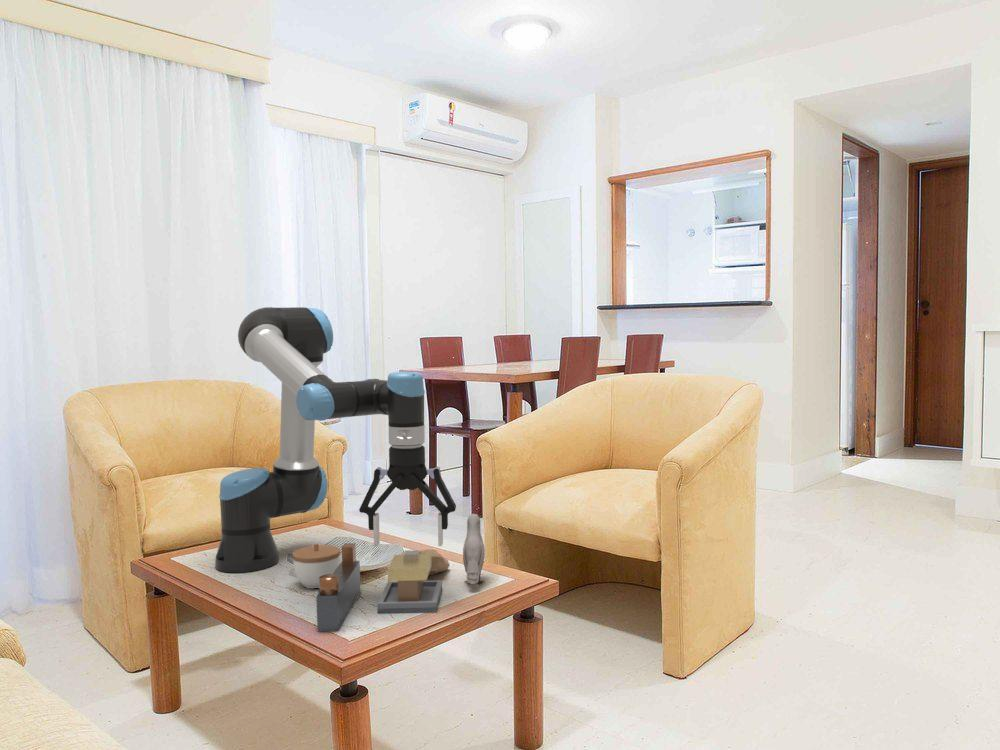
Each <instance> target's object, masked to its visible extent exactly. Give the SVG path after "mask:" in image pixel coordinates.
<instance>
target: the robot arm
mask: <svg viewBox="0 0 1000 750" xmlns="http://www.w3.org/2000/svg"><path fill="white" fill-rule="evenodd" d="M237 338H238V339H237V340H238V343H239V346H240V349H241V350H242V351H243V353H244V354H245V355H246V356H247V357H248V358H249V359H251V360H252V361H254V362H258V363H261V364H262V365H263V366H265V368H266V369H267V370H268V371H270V373H272V374H273V375H274V376H275V377H276V378H277V379H278V381H280V382H281V394H280V395H281V400H280V433H279V456H278V458H276V459H275V460H274V461H273V464H272V466H273V469H272V471H271V472H269V470H268V469H267V468H264V467H254V468H246V469H241V470H238V471H234V472H232V473H229V474H227V475H225V476H224V477H223V478H222V479H220V480H221V481H220V484H219V496H218V497H219V505H220V524H221V526H220V528H221V538H220V541H219V545H218V547H217V551H216V554H215V560H214V561H215V563H214V564H215V569H216V570H217V571H220V572H223V573H232V574H233V573H234V574H235V573H237V574H238V573H249V572H250V573H251V572H256V571H260V570H265V569H267V568H270V567H272V566H274V565H277V564H278V562H279V560H280V557H279V550H278V547H277V544H276V542H275V539H274V537H273V535H272V534H273V533H272V531H271V519H273V518H280V517H285V516H289V515H290V516H291V515H294V514H295V515H296V514H297V515H298V514H305V513H307V512H310V511H314V510H317V509H319V507H321V505H323V503H324V501H326V498H327V493H328V485H329V484H328V478H327V474H326V471H325V470H324V468H323V467H321V466H320V462H319V461H318V459H317V458H315V455H314V454H315V452H314V450H315V427H316V426H315V424H316V423H315V422H316V421H320V422H321V421H326V420H334V419H342V418H343V419H344V418H351V417H352V418H353V417H363V416H374V415H383V416H384V415H385V416H388V444H389V446H390V447H389V448H388V460H389V461H388V463H389V465H388V466H389V467H388V469H385V468H381V467H379V466H378V467H377V468H375V469H374V472H373V480H372V482H371V485H370V486H369V488H368V491H367V492H366V495H365V496H364V498H363V501H362V503H361V504H360V507H359V509H358V511H359V513H361V514H362V513H363V514H365V515H367V519H368V521H367V522H368V524H367V525H368V530H369V531H373V547H374V548H375V547H377V548H378V547H379V544H380V543H381V541H380V540H381V539H380V512H377V510H379V508H380V507H381V505H383V503H384V502H385V501H386V500H387V498H388V497H389V496H390V495H391V494H392V492H393V491H394V490H395V489H398V490H399V491H405V490H409V491H415V490H416V489H418V490H419V491H421V493H422V494H424V496H425V497H426V498H427V499H428V501H430V502H431V504H432V505H433V506H435V508H436V509H437V510H438V515H437V534H438V535H437V539H438V540H437V541H438V543H437V544H438V547H442V546H443V545H444V544H443V543H444V530H447V529H448V527H449V523H448V522H449V516H448V515H449V514H450V513H455V511H456V510H457V505H456V503H455V500H454V499H453V497H452V495H451V493H450V492H449V490H448V488H447V486H446V484H445V481H444V479H443V478H442V474H441V468H440V467H439V466H435V467H434V468H427V466H426V447H425V446H424V444H425V442H426V441H425V439H426V438H425V437H426V435H425V434H426V433H425V432H426V431H425V427H426V426H425V394H426V393H425V392H426V391H425V388H424V386H425V385H424V376H423V375H422V373H420V372H418V371H412V372H411V371H399V372H398V371H397V372H391V373H388V375H387V380H384V379H379V378H368V379H363V380H354V381H339V382H335V381H333V380H332V379H331V378H329V377H328V376H327V375H326V374H325V373H324V372H323V371H322V370H320V368H318V367H319V366H320V365H321V364H322V363H323V362H324V354H326V353H328V352H329V351H330V350H331V349H332V346H333V343H334V332H333V327H332V323H331V321H330V319H329V318H328V315H327V314H326V313H325V312H324V311H323V310H322V309H319V308H314V307H306V306H303V307H302V306H301V307H272V306H271V307H270V306H269V307H267V306H266V307H261V308H257V309H255V310H253V311H251V312H250V313H249V314H248V315H246V316H245V317H244V318H243V320H242V321H241V323H240V325H239V328H238V332H237ZM428 475H429V477H430V478H431V479H432V480H434V482H435V485H436V487H437V488H438V490H439V492H440V494H441V496H442V497H443V500H444V501H445V503H446V505H445V504H444V502H443V501H442V500H441V499H440V498H439V497H438V496H437V494H436V493H435V491H433V490H432V489H431V488H430V486H429V485H428V484H427V483H426V481H425V478H426V477H427V476H428ZM385 476H387V477H388V479H389V480H390V481H391V483H390V484H389V485H388V486H387V488H386V489H385V490H384V491H383V493H382V494H381V495H380V496H379V497H378V499H377V500H376V501H375V502H374V503H373V505H371V506H369V505H370V503H371V501H372V498H373V496H374V494H375V492H376V490H377V488H378V487H379V484H380V482H381V480H383V479H384V478H385Z"/></svg>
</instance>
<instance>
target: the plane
mask: <svg viewBox="0 0 1000 750" xmlns="http://www.w3.org/2000/svg"><path fill="white" fill-rule="evenodd" d="M356 548H357V547H356V542H355V543H353V542H352V543H349V542H347V543H343V545H342V546H341V560H340V564H339V566H338V567H337V568H336V570H335V571H334V572H333V574H326V575H322V576H320V577H319V587H320V588H319V592H318V593H317V594H316V596H315V597H316V598H315V599H316V623H317V625H316V626H317V627H316V628H317V632H318V633H324V632H326V633H327V632H339V631H340V629H342V626H343V625H344V622H345V621H346V619H347V617H348V615H349V613H350V611H351V610H352V608H353V606H354V605H355V603H356V601H357V599H358V598H359V596H360V594H361V592H362V591H361V566H360V565H361V564H360V563H361V562H360V560H357V556H356V555H357V553H356V552H357V549H356ZM320 631H321V632H320ZM322 631H324V632H322Z"/></svg>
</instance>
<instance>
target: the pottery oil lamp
mask: <svg viewBox="0 0 1000 750" xmlns="http://www.w3.org/2000/svg"><path fill="white" fill-rule="evenodd" d="M419 554H431V568H430V572H429V575H428V576H432V575H435V574H437V573H442V572H446V571H447V570H448V569H449V568H450V562H449V560H448V559H447V558H445V557H443V556H442V554H441V553H439V552H438V551H437V550H435V549H432V548H429V549H423V550H419Z"/></svg>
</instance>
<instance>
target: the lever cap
mask: <svg viewBox="0 0 1000 750" xmlns="http://www.w3.org/2000/svg"><path fill="white" fill-rule="evenodd" d="M419 551H420V550H415V549H414V550H413V549H412V550H405V551H404V553H403V554H394V555H393V558H392V560H391V562H390V564H389V566H388V567H387V582H388V581H415V580H423V581H428V577H429V576H430V575H429V572H430V568H431V554H419Z"/></svg>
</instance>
